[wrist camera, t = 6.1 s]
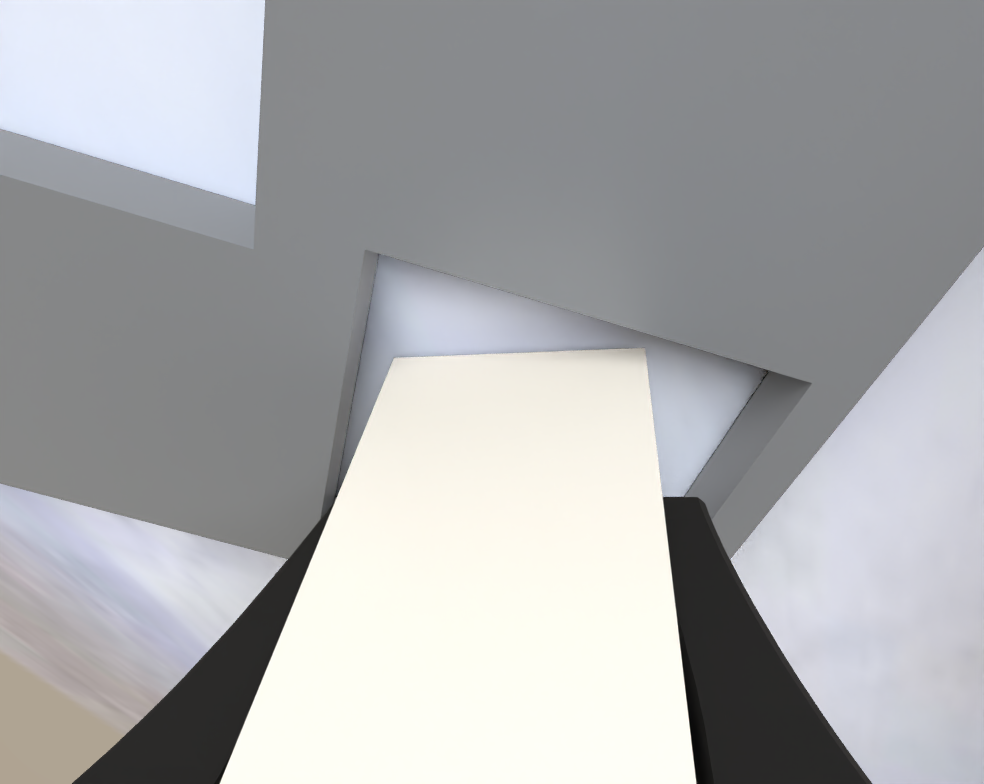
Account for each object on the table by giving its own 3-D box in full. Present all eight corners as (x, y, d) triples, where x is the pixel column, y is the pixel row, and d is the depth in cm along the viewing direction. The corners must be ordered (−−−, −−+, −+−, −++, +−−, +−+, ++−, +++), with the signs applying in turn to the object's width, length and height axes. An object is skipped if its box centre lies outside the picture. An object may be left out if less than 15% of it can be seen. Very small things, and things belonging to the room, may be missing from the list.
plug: (644, 347, 10) (728, 1049, 4) (642, 525, 13) (692, 1138, 6) (393, 357, 11) (141, 974, 5) (436, 524, 13) (304, 1079, 7)
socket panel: (1248, -209, 6) (1365, -224, 5) (648, 605, 15) (652, 655, 14) (-575, -921, 5) (-835, -1098, 4) (-86, 408, 14) (-136, 447, 13)
